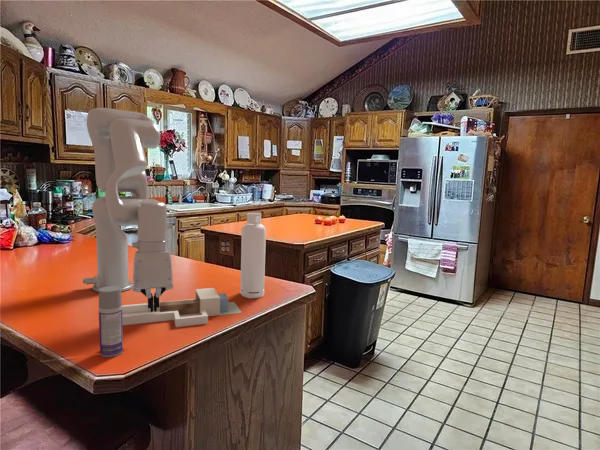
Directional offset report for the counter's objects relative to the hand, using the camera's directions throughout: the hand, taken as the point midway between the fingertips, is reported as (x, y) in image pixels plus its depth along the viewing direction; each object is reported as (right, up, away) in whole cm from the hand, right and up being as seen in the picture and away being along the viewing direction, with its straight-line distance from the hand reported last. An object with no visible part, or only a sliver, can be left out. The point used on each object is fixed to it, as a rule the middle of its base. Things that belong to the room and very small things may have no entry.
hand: (153, 310), depth 110 cm
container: (-1, -5, -22) cm, 22 cm away
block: (+17, -1, +7) cm, 18 cm away
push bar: (+8, -2, +4) cm, 9 cm away
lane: (+8, -2, +1) cm, 8 cm away
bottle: (+25, 0, +24) cm, 35 cm away
